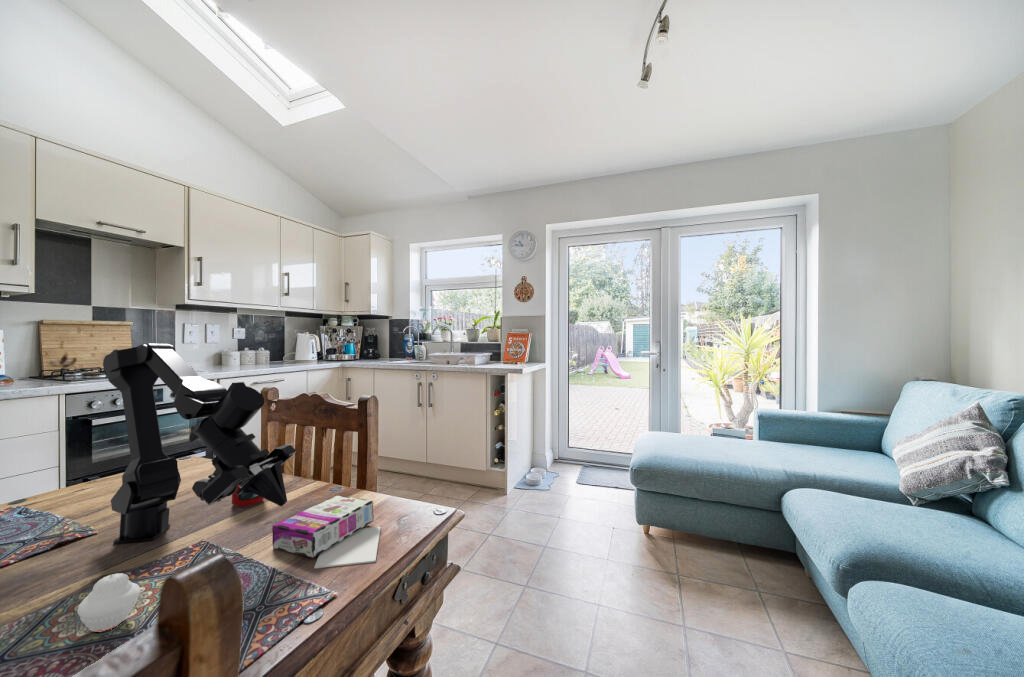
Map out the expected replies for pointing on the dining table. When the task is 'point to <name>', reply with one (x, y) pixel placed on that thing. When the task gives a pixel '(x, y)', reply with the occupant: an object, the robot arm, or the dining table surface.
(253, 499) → the beverage can
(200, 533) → the dining table surface
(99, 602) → the white lumpy blob
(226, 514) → the dining table surface
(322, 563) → the mat
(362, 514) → the candy bar box
